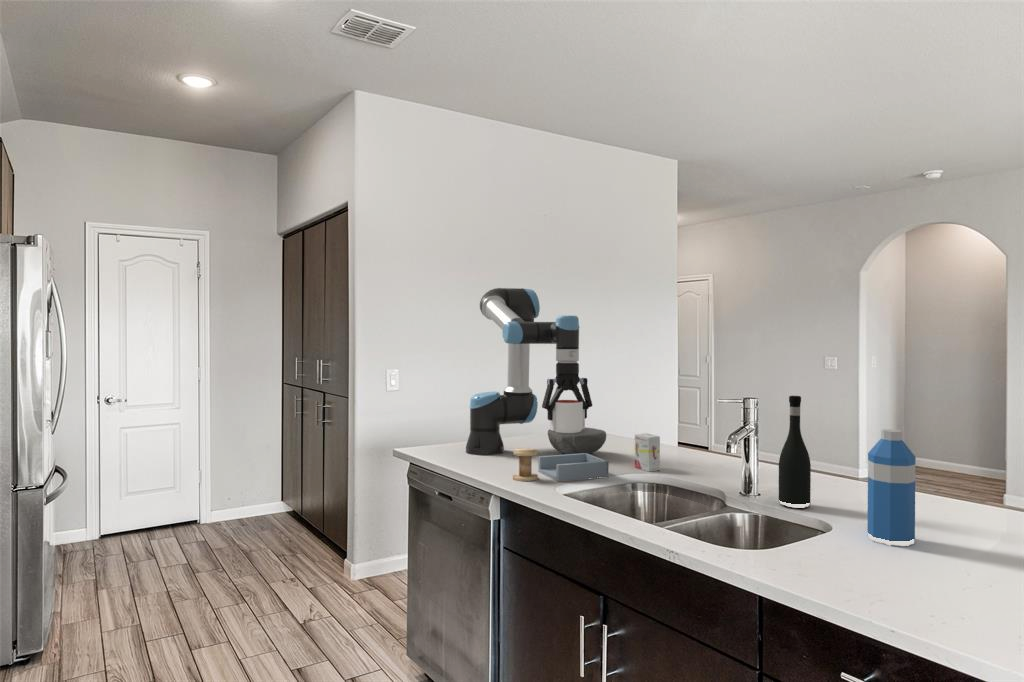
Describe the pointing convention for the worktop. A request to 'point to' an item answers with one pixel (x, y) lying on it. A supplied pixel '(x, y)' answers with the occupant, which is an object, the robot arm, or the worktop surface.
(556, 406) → the cup
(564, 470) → the notch board
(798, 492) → the wine bottle
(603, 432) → the bowl
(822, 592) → the worktop surface
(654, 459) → the ink box
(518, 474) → the bobbin
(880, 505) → the water bottle
